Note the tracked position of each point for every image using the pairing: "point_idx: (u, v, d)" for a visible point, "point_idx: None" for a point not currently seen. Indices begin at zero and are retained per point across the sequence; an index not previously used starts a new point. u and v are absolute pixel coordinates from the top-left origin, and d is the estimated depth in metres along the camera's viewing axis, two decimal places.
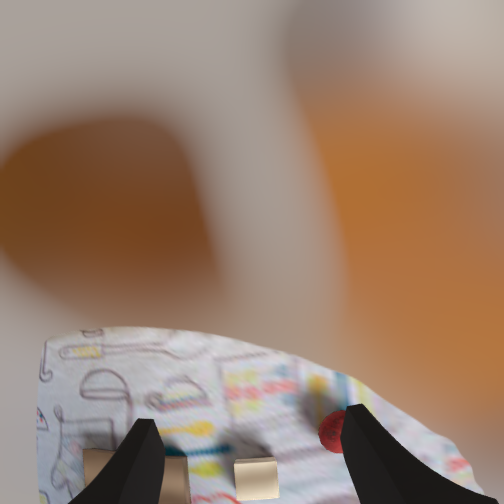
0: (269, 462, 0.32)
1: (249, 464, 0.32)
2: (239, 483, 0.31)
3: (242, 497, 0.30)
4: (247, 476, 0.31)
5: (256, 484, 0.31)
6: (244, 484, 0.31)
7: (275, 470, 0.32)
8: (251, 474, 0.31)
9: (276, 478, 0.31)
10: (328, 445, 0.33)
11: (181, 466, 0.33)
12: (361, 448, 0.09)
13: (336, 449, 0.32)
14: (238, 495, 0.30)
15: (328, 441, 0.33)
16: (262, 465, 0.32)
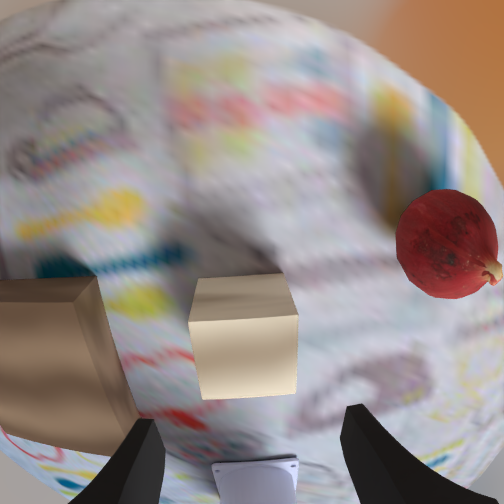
0: (280, 317, 0.15)
1: (228, 323, 0.14)
2: (204, 366, 0.15)
3: (213, 394, 0.16)
4: (224, 352, 0.15)
5: (245, 368, 0.15)
6: (218, 369, 0.15)
7: (293, 337, 0.15)
8: (232, 345, 0.15)
9: (293, 355, 0.15)
10: (423, 279, 0.14)
11: (76, 318, 0.16)
12: (362, 448, 0.09)
13: (439, 294, 0.14)
14: (204, 390, 0.16)
15: (427, 272, 0.14)
16: (262, 326, 0.15)
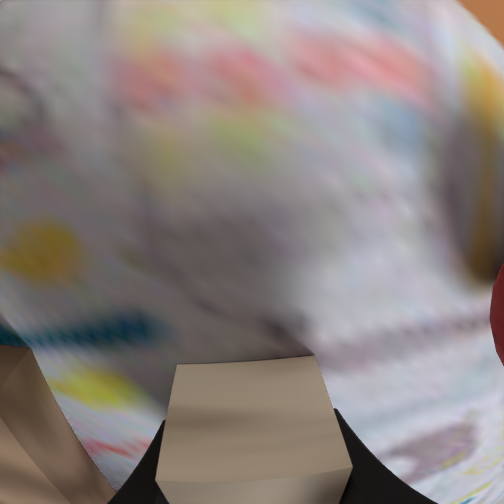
0: (320, 471, 0.07)
1: (227, 484, 0.06)
2: None
3: None
4: None
5: None
6: None
7: (338, 488, 0.07)
8: (235, 503, 0.07)
9: (334, 502, 0.07)
10: None
11: (2, 420, 0.08)
12: None
13: None
14: None
15: None
16: (289, 485, 0.07)
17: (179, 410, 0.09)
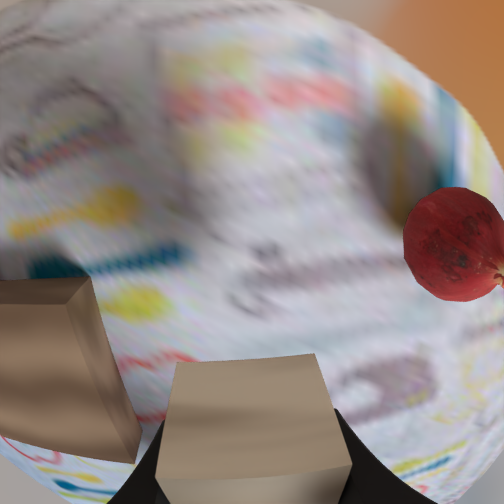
0: (319, 468, 0.07)
1: (227, 482, 0.07)
2: None
3: None
4: None
5: None
6: None
7: (337, 486, 0.07)
8: (235, 501, 0.07)
9: (333, 500, 0.07)
10: (432, 282, 0.13)
11: (69, 321, 0.15)
12: None
13: (448, 297, 0.13)
14: None
15: (437, 275, 0.13)
16: (288, 482, 0.07)
17: (179, 408, 0.09)
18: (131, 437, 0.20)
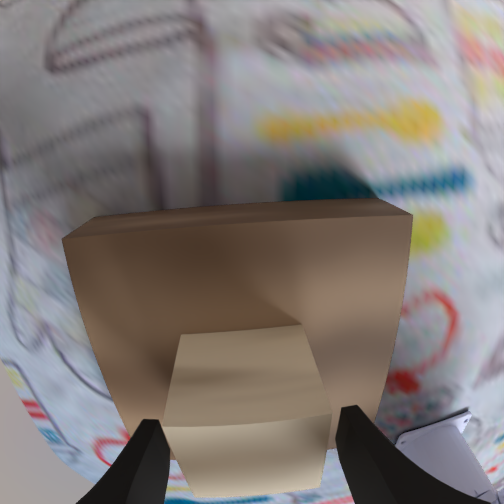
0: (304, 417, 0.09)
1: (223, 429, 0.08)
2: (194, 471, 0.09)
3: (209, 493, 0.10)
4: (220, 458, 0.09)
5: (251, 472, 0.09)
6: (213, 473, 0.09)
7: (322, 437, 0.09)
8: (232, 452, 0.09)
9: (321, 455, 0.09)
10: None
11: (408, 238, 0.12)
12: (356, 449, 0.09)
13: None
14: (196, 490, 0.10)
15: None
16: (277, 430, 0.09)
17: (183, 370, 0.11)
18: None
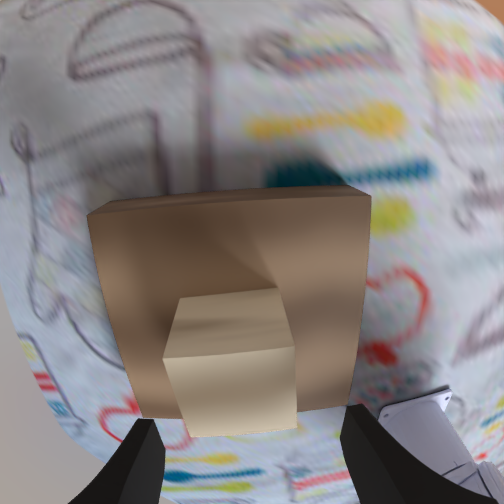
0: (272, 349, 0.12)
1: (210, 358, 0.12)
2: (188, 405, 0.12)
3: (202, 431, 0.13)
4: (209, 390, 0.12)
5: (235, 406, 0.13)
6: (204, 407, 0.13)
7: (290, 371, 0.12)
8: (218, 383, 0.12)
9: (292, 389, 0.12)
10: None
11: (368, 215, 0.15)
12: (361, 448, 0.09)
13: None
14: (191, 428, 0.13)
15: None
16: (252, 360, 0.12)
17: (181, 321, 0.14)
18: None
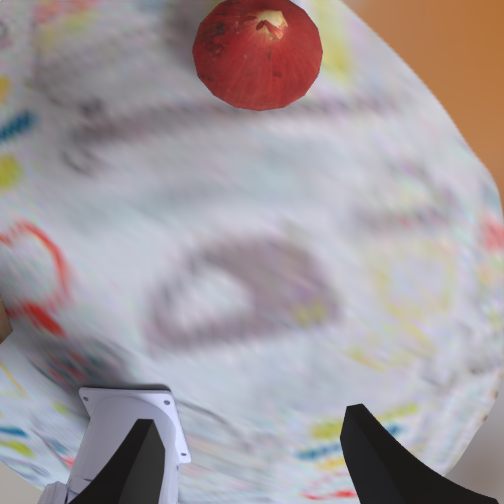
0: None
1: None
2: None
3: None
4: None
5: None
6: None
7: None
8: None
9: None
10: (208, 73, 0.12)
11: None
12: (361, 448, 0.09)
13: (231, 86, 0.12)
14: None
15: (206, 60, 0.11)
16: None
17: None
18: None
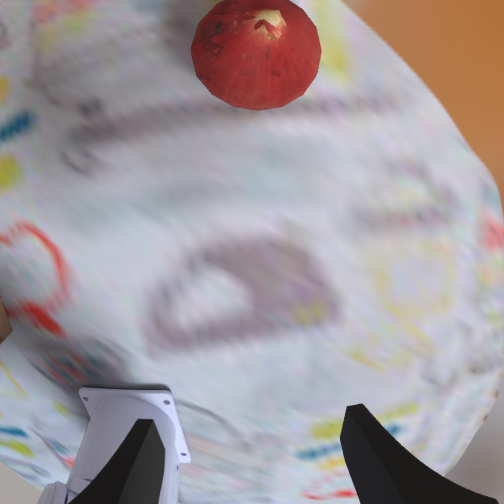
0: None
1: None
2: None
3: None
4: None
5: None
6: None
7: None
8: None
9: None
10: (206, 72, 0.12)
11: None
12: (361, 448, 0.09)
13: (230, 85, 0.12)
14: None
15: (204, 59, 0.11)
16: None
17: None
18: None
